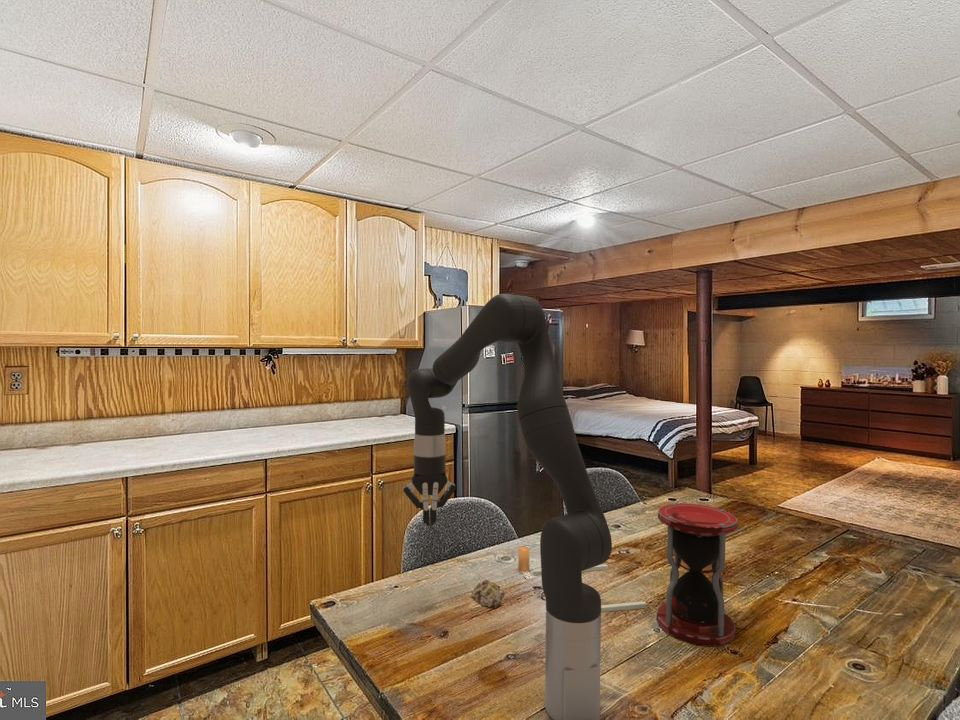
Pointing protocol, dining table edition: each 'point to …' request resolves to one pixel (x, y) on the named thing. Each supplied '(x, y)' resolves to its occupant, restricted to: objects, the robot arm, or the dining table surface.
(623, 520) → the dining table surface
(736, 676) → the dining table surface
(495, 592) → the mineral rock
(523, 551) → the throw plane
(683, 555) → the hourglass
